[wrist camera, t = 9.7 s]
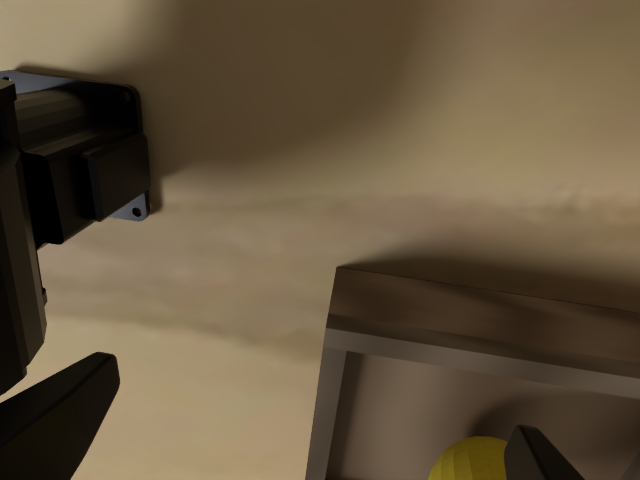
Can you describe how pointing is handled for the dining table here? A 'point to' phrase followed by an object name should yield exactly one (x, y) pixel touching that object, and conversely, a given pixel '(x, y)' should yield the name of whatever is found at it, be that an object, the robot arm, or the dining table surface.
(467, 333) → the wooden tray
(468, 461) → the lemon
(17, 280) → the robot arm
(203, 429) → the dining table surface
